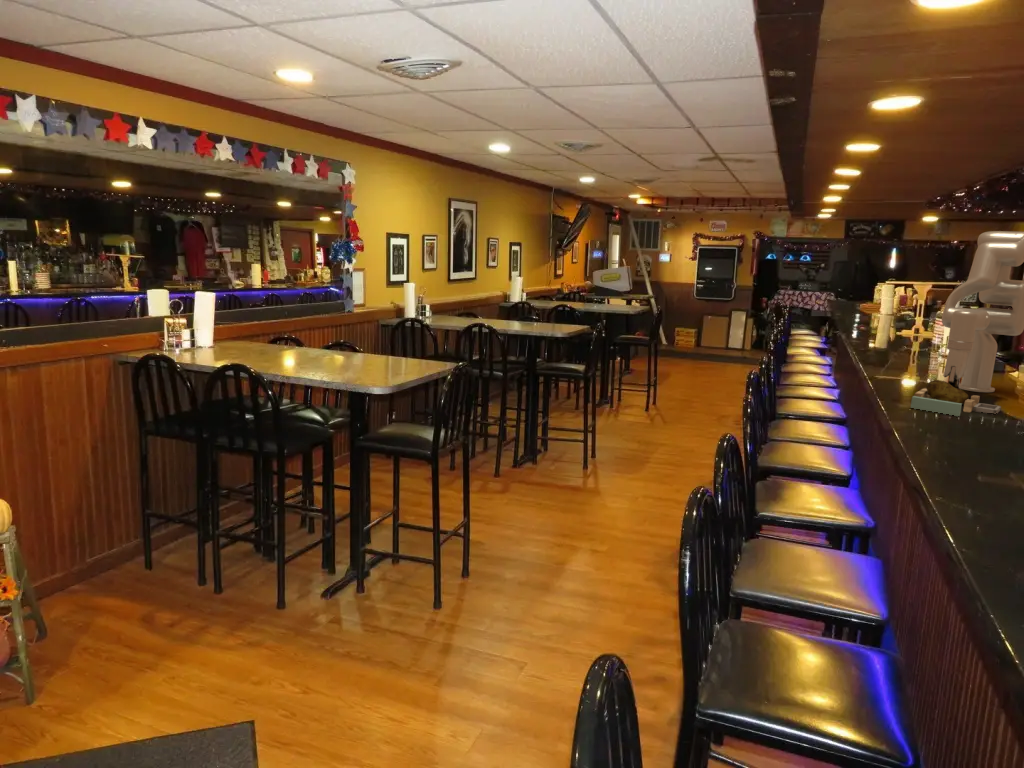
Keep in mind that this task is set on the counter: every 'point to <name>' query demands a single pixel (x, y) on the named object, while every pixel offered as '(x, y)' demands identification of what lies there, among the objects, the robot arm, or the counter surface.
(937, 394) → the potato
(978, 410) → the grey tray
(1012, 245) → the robot arm
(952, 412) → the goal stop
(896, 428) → the counter surface
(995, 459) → the counter surface
